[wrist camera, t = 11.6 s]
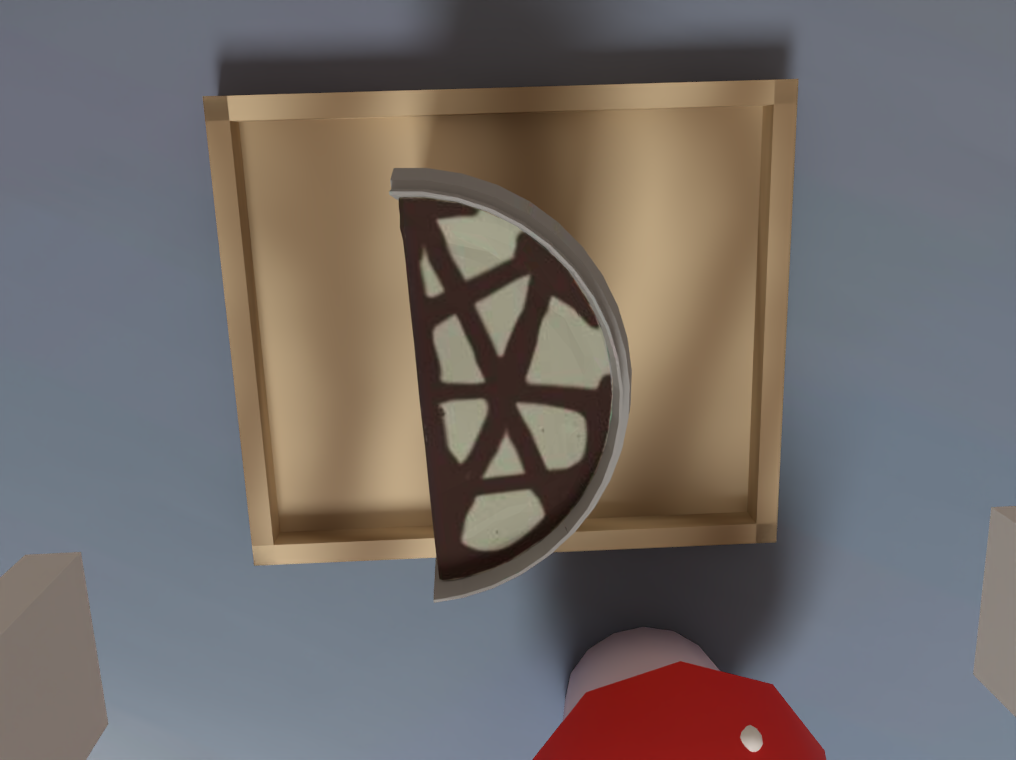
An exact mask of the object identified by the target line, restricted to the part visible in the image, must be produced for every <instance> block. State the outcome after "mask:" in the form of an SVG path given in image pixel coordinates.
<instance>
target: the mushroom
mask: <svg viewBox="0 0 1016 760" xmlns="http://www.w3.org/2000/svg"><path fill="white" fill-rule="evenodd" d="M533 760H826V756H825V751H824V749H823V748H822V747H821V745H820V744H819V743H818V742H817V740H816V739H815V738H814V737H813V735H812V734H811V733H810V731H809V730H808V729H807V728H806V726H805V725H804V724H803V722H802V721H801V720H800V719H799V717H798V716H797V715H796V714H795V712H794V711H793V710H792V708H791V707H790V706H789V705H788V703H787V702H786V701H785V699H784V698H783V697H782V696H781V694H780V693H779V692H778V691H777V689H776V688H775V687H774V685H773V684H769V683H765V682H761V681H757V680H753V679H749V678H745V677H741V676H737V675H734V674H730V673H726V672H722V671H720V670H719V669H718V668H717V667H716V665H715V664H714V663H713V662H712V661H711V660H710V658H709V657H708V656H707V655H706V654H705V653H704V651H703V650H702V649H701V648H700V647H699V645H697V644H695V643H694V642H692V641H690V640H688V639H687V638H685V637H683V636H681V635H680V634H678V633H676V632H674V631H670V630H663V629H656V628H649V627H640V628H636V629H631V630H626V631H622V632H617V633H613V634H612V635H610V636H608V637H607V638H605V639H604V640H602V641H601V642H599V643H597V644H596V645H594V646H593V647H591V648H590V649H588V650H587V651H586V653H585V654H584V656H583V657H582V658H581V660H580V661H579V663H578V664H577V665H576V667H575V668H574V669H573V671H572V672H571V675H570V679H569V684H568V689H567V693H566V698H565V705H564V715H563V722H562V723H561V724H560V726H559V727H558V728H557V729H556V731H555V732H554V733H553V734H552V736H551V737H550V738H549V739H548V741H547V742H546V743H545V745H544V746H543V747H542V748H541V750H540V751H539V752H538V753H537V755H536V756H535V757H534V758H533Z"/></svg>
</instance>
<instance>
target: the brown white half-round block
mask: <svg viewBox="0 0 1016 760" xmlns="http://www.w3.org/2000/svg"><path fill="white" fill-rule="evenodd" d="M390 183H391V190H390V191H389V195H391V196H392V197H394V198H395V199H397V200H398V201H399V213H400V231H401V235H402V239H403V245H404V253H405V262H406V272H407V283H408V293H409V303H410V312H411V321H412V330H413V338H414V348H415V359H416V369H417V380H418V390H419V400H420V409H421V418H422V426H423V435H424V443H425V452H426V463H427V473H428V483H429V493H430V503H431V512H432V521H433V530H434V540H435V548H436V565H435V584H434V603H435V602H441V601H447V600H453V599H458V598H464V597H467V596H470V595H473V594H476V593H480V592H483V591H486V590H489V589H492V588H495V587H497V586H499V585H501V584H503V583H505V582H507V581H509V580H511V579H513V578H515V577H517V576H519V575H521V574H523V573H524V572H526V571H527V570H529V569H530V568H532V567H533V566H535V565H536V564H538V563H539V562H541V561H542V560H543V559H545V558H546V557H548V556H549V555H550V554H552V553H553V552H554V551H555V550H556V549H557V548H558V547H559V546H560V545H561V544H563V543H564V542H565V541H566V540H567V539H568V538H569V537H570V536H571V535H572V534H573V533H574V532H575V531H576V530H577V529H578V528H579V526H580V525H581V524H582V523H583V521H584V520H585V519H586V518H587V516H588V515H589V514H590V513H591V511H592V510H593V509H594V508H595V506H596V504H597V503H598V501H599V499H600V497H601V496H602V494H603V492H604V490H605V489H606V487H607V485H608V483H609V482H610V480H611V477H612V475H613V472H614V469H615V467H616V464H617V461H618V459H619V456H620V454H621V451H622V447H623V442H624V437H625V433H626V428H627V423H628V418H629V411H630V405H631V380H632V368H631V360H630V353H629V345H628V338H627V334H626V331H625V328H624V324H623V321H622V318H621V314H620V311H619V308H618V305H617V303H616V301H615V299H614V297H613V295H612V293H611V291H610V289H609V287H608V285H607V283H606V281H605V279H604V276H603V275H602V273H601V272H600V271H599V269H598V268H597V266H596V265H595V263H594V262H593V261H592V259H591V258H590V256H589V255H588V254H587V252H586V251H585V249H584V248H583V247H582V246H581V245H580V244H579V243H578V242H577V241H576V240H575V239H574V238H573V237H572V236H571V235H570V234H569V233H568V232H567V231H566V230H565V229H564V228H563V227H562V226H561V224H560V223H559V222H557V221H556V220H555V219H553V218H552V217H550V216H549V215H548V214H546V213H545V212H544V211H542V210H541V209H539V208H538V207H537V206H535V205H534V204H533V203H531V202H530V201H528V200H526V199H524V198H522V197H520V196H518V195H516V194H514V193H512V192H511V191H509V190H507V189H505V188H503V187H501V186H499V185H496V184H493V183H490V182H487V181H484V180H481V179H478V178H475V177H472V176H469V175H466V174H462V173H456V172H449V171H443V170H437V169H430V168H394V169H393V172H392V176H391V179H390Z"/></svg>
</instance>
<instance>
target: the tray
mask: <svg viewBox="0 0 1016 760" xmlns="http://www.w3.org/2000/svg"><path fill="white" fill-rule="evenodd" d="M797 96H798V79H780V80H746V81H712V82H678V83H644V84H610V85H576V86H542V87H508V88H474V89H439V90H405V91H371V92H337V93H303V94H269V95H235V96H203V104H204V113H205V122H206V131H207V140H208V149H209V158H210V168H211V177H212V186H213V195H214V204H215V213H216V222H217V231H218V240H219V249H220V258H221V268H222V277H223V286H224V295H225V304H226V313H227V322H228V331H229V340H230V349H231V358H232V368H233V377H234V386H235V395H236V404H237V413H238V422H239V431H240V440H241V449H242V458H243V468H244V477H245V486H246V495H247V504H248V513H249V522H250V531H251V540H252V549H253V558H254V566H255V565H278V564H300V563H323V562H345V561H368V560H390V559H413V558H435V557H436V548H435V540H434V530H433V521H432V512H431V503H430V493H429V483H428V473H427V463H426V452H425V443H424V435H423V426H422V418H421V409H420V400H419V390H418V380H417V369H416V359H415V348H414V338H413V330H412V321H411V312H410V303H409V293H408V283H407V272H406V262H405V253H404V245H403V239H402V235H401V231H400V213H399V201H398V200H397V199H395V198H394V197H392V196H391V195H389V191H390V190H391V183H390V179H391V176H392V172H393V169H394V168H430V169H437V170H443V171H449V172H456V173H462V174H466V175H469V176H472V177H475V178H478V179H481V180H484V181H487V182H490V183H493V184H496V185H499V186H501V187H503V188H505V189H507V190H509V191H511V192H512V193H514V194H516V195H518V196H520V197H522V198H524V199H526V200H528V201H530V202H531V203H533V204H534V205H535V206H537V207H538V208H539V209H541V210H542V211H544V212H545V213H546V214H548V215H549V216H550V217H552V218H553V219H555V220H556V221H557V222H559V223H560V224H561V226H562V227H563V228H564V229H565V230H566V231H567V232H568V233H569V234H570V235H571V236H572V237H573V238H574V239H575V240H576V241H577V242H578V243H579V244H580V245H581V246H582V247H583V248H584V249H585V251H586V252H587V254H588V255H589V256H590V258H591V259H592V261H593V262H594V263H595V265H596V266H597V268H598V269H599V271H600V272H601V273H602V275H603V276H604V279H605V281H606V283H607V285H608V287H609V289H610V291H611V293H612V295H613V297H614V299H615V301H616V303H617V305H618V308H619V311H620V314H621V318H622V321H623V324H624V328H625V331H626V334H627V338H628V345H629V353H630V360H631V368H632V380H631V405H630V411H629V418H628V423H627V428H626V433H625V437H624V442H623V447H622V451H621V454H620V456H619V459H618V461H617V464H616V467H615V469H614V472H613V475H612V477H611V480H610V482H609V483H608V485H607V487H606V489H605V490H604V492H603V494H602V496H601V497H600V499H599V501H598V503H597V504H596V506H595V508H594V509H593V510H592V511H591V513H590V514H589V515H588V516H587V518H586V519H585V520H584V521H583V523H582V524H581V525H580V526H579V528H578V529H577V530H576V531H575V532H574V533H573V534H572V535H571V536H570V537H569V538H568V539H567V540H566V541H565V542H564V543H563V544H561V545H560V546H559V547H558V548H557V549H556V550H555V551H554V552H570V551H593V550H615V549H638V548H660V547H683V546H705V545H728V544H750V543H773V542H776V536H777V515H778V494H779V473H780V452H781V431H782V410H783V389H784V368H785V348H786V327H787V306H788V285H789V264H790V243H791V222H792V201H793V180H794V159H795V138H796V117H797Z"/></svg>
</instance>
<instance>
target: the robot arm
mask: <svg viewBox="0 0 1016 760" xmlns="http://www.w3.org/2000/svg"><path fill="white" fill-rule="evenodd" d="M973 674H974V675H975V676H976V677H977V679H978V680H979V681H980V682H981V683H982V684H983V685H984V686H985V687H986V688H987V689H988V690H989V691H990V692H991V693H992V694H993V695H994V696H995V697H996V698H997V699H998V700H999V701H1000V702H1001V703H1002V704H1003V705H1004V706H1005V707H1006V708H1007V709H1008V710H1009V711H1010V712H1011V713H1012V714H1013V715H1014V716H1015V717H1016V506H1008V507H991V516H990V525H989V534H988V544H987V553H986V562H985V571H984V580H983V590H982V599H981V608H980V617H979V626H978V636H977V645H976V654H975V663H974V673H973ZM107 725H108V719H107V713H106V707H105V700H104V694H103V688H102V682H101V675H100V669H99V663H98V657H97V650H96V644H95V638H94V631H93V625H92V619H91V613H90V606H89V600H88V594H87V588H86V581H85V575H84V569H83V563H82V556H81V552H74V553H53V554H33V555H25V556H23V557H22V558H21V559H20V560H19V561H18V562H17V563H16V564H15V565H14V566H13V567H11V568H10V569H9V570H8V571H7V572H6V573H5V574H4V575H3V576H2V577H0V760H86V759H87V757H88V756H89V754H90V752H91V751H92V749H93V747H94V746H95V744H96V743H97V741H98V739H99V738H100V736H101V735H102V733H103V731H104V730H105V728H106V727H107Z"/></svg>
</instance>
